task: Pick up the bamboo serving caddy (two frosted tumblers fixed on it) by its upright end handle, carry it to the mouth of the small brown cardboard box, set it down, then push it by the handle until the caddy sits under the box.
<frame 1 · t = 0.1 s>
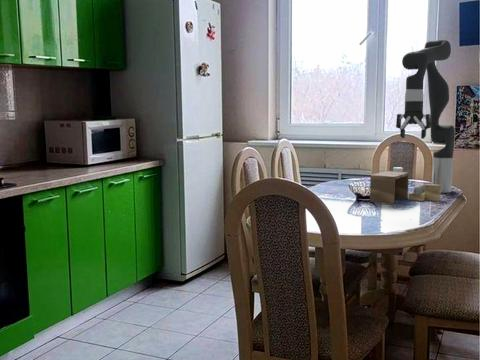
hand: (412, 138, 235), 29 cm above the table, fingers open, 8 cm apart
brown cardboard box: (389, 200, 251), on the table
supplement bottle: (397, 193, 270), on the table
tray: (419, 198, 255), on the table
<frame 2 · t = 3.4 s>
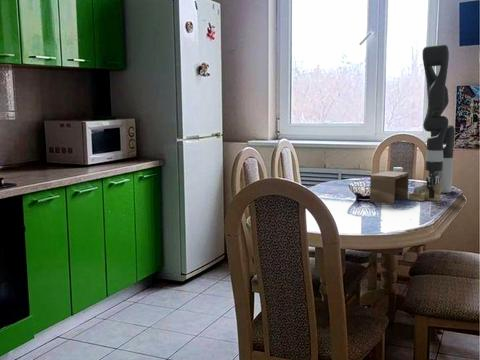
hand: (432, 197, 251), 1 cm above the table, fingers closed on tray, 3 cm apart
tray: (419, 198, 255), on the table, touching gripper
everything else where it was.
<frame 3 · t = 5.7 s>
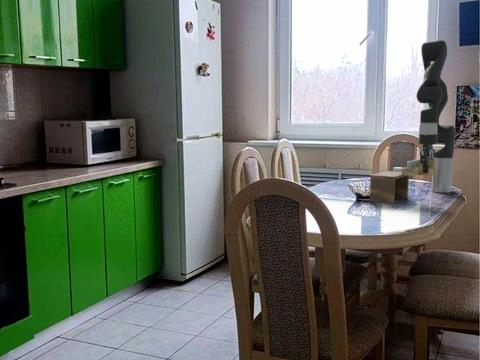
hand: (426, 172, 240), 14 cm above the table, fingers closed on tray, 3 cm apart
tray: (413, 174, 244), point 13 cm above the table, touching gripper
everything else where it was.
when the fingers open (3 cm above the table, at t = 7.9 s): tray stays where it is, on the table.
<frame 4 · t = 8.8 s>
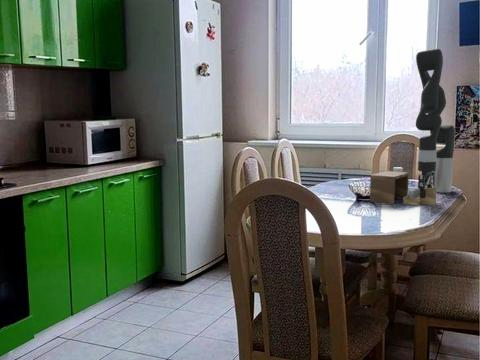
hand: (425, 196, 241), 3 cm above the table, fingers open, 8 cm apart
tray: (414, 202, 244), on the table
everything else where it was.
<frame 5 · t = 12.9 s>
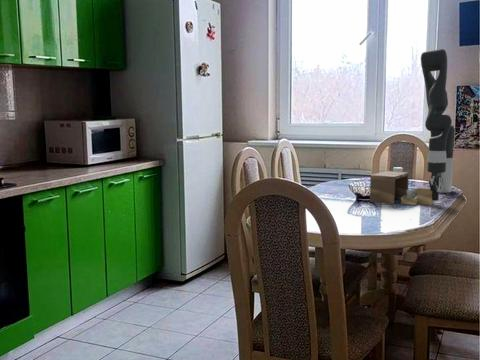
hand: (435, 200, 239), 2 cm above the table, fingers closed
tray: (412, 202, 245), on the table, touching gripper
everything else where it was.
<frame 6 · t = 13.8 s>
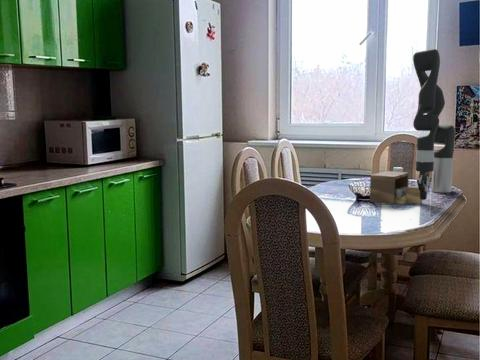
hand: (423, 199, 242), 2 cm above the table, fingers closed
tray: (400, 201, 248), on the table, touching gripper
everything else where it was.
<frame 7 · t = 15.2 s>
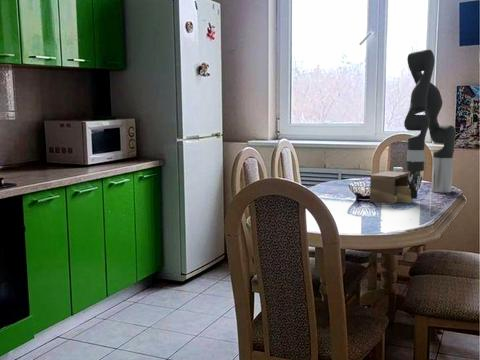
hand: (414, 198, 244), 2 cm above the table, fingers closed
tray: (392, 200, 250), on the table, touching gripper
everything else where it was.
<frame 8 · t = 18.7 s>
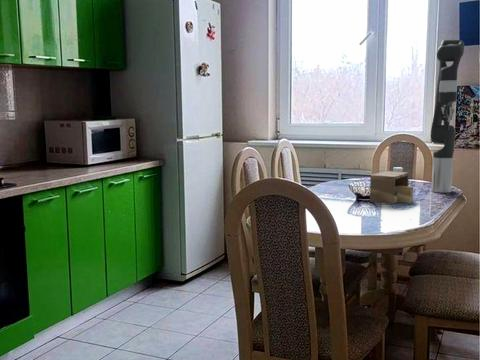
hand: (446, 130, 246), 32 cm above the table, fingers closed
tray: (392, 200, 250), on the table
everything else where it was.
at the end: tray inside the target area (1.3 cm from its centre), on the table; tray tilted 0°; tray moved 14.7 cm from its start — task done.
